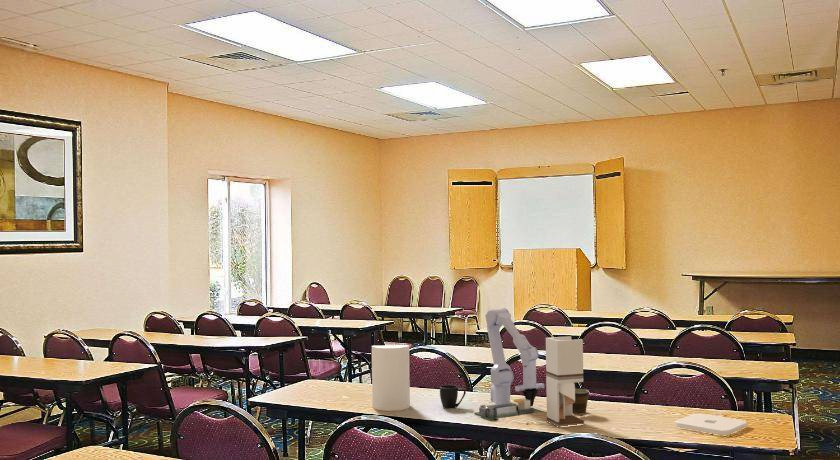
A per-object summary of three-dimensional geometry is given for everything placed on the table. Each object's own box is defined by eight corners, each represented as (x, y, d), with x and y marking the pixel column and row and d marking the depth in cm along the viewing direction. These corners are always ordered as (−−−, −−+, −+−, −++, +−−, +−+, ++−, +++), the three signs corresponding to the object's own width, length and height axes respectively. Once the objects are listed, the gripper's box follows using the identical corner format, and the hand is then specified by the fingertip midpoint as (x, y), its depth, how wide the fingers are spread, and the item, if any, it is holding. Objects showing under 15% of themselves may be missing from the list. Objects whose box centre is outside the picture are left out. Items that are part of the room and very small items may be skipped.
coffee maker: (558, 427, 300) (557, 340, 301) (546, 421, 310) (545, 337, 311) (584, 425, 303) (582, 339, 304) (571, 419, 314) (570, 336, 314)
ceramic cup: (581, 410, 330) (580, 387, 330) (594, 415, 321) (593, 392, 321) (555, 413, 325) (555, 390, 326) (568, 418, 316) (567, 394, 316)
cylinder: (409, 410, 334) (409, 347, 335) (371, 410, 334) (370, 348, 335) (410, 402, 352) (409, 342, 352) (373, 402, 351) (372, 343, 352)
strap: (482, 409, 322) (482, 406, 322) (510, 405, 328) (510, 402, 328) (488, 411, 318) (488, 408, 318) (516, 407, 324) (516, 404, 324)
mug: (462, 410, 333) (462, 389, 333) (437, 408, 337) (437, 387, 337) (468, 406, 340) (467, 385, 340) (443, 404, 345) (443, 384, 345)
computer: (671, 428, 298) (671, 421, 298) (696, 419, 314) (696, 412, 314) (726, 438, 283) (726, 431, 283) (749, 427, 298) (749, 421, 298)
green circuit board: (473, 414, 325) (473, 404, 325) (525, 407, 338) (524, 397, 338) (490, 421, 312) (490, 410, 312) (543, 413, 325) (543, 403, 325)
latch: (513, 409, 329) (513, 399, 329) (523, 408, 332) (523, 397, 332) (520, 411, 325) (520, 401, 325) (530, 410, 327) (530, 400, 327)
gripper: (521, 378, 324) (522, 409, 323) (548, 375, 330) (548, 405, 330) (512, 375, 330) (512, 406, 330) (538, 372, 337) (539, 402, 337)
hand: (530, 405), depth 330 cm, fingers closed
